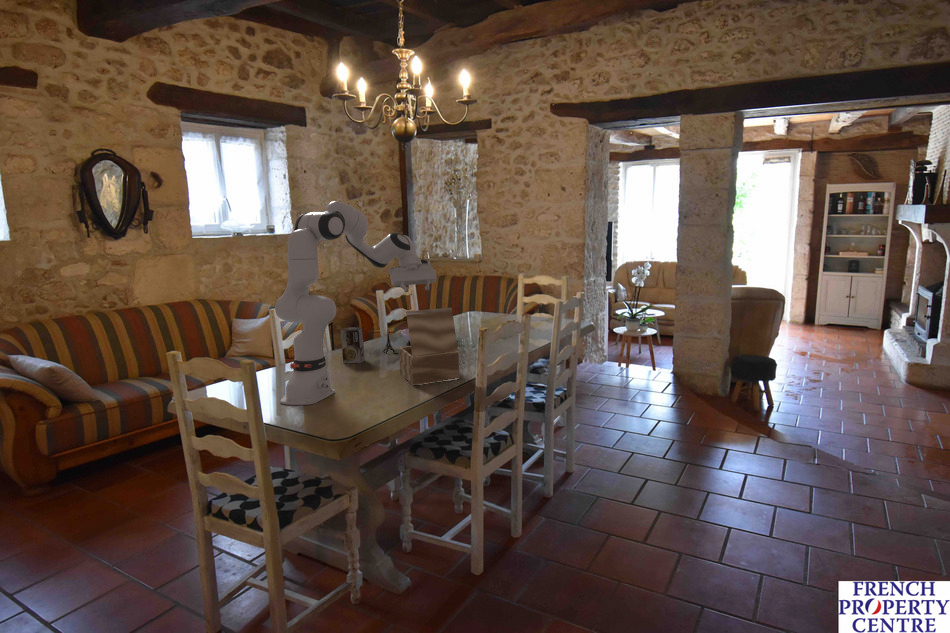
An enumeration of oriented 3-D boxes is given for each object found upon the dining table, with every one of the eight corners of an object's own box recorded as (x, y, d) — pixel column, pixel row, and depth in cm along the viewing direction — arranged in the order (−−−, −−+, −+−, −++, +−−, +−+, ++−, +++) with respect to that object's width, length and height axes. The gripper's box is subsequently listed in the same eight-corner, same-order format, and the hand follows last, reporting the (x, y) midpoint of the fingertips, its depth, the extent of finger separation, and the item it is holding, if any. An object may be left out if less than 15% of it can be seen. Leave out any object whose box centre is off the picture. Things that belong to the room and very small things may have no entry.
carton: (400, 374, 251) (398, 347, 248) (443, 368, 258) (442, 342, 256) (412, 386, 232) (411, 357, 230) (459, 379, 240) (458, 351, 237)
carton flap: (406, 311, 233) (406, 311, 232) (451, 307, 240) (451, 307, 239) (412, 356, 230) (412, 356, 230) (457, 350, 237) (458, 350, 237)
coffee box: (365, 359, 277) (363, 327, 274) (361, 363, 271) (359, 329, 268) (346, 359, 278) (344, 327, 275) (342, 363, 272) (340, 329, 269)
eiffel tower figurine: (370, 354, 290) (368, 328, 287) (379, 350, 299) (377, 324, 297) (397, 356, 285) (396, 329, 283) (405, 351, 295) (404, 325, 292)
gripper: (388, 263, 251) (394, 287, 243) (433, 260, 258) (440, 284, 251) (386, 272, 256) (392, 297, 248) (430, 269, 263) (437, 293, 256)
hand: (417, 290), depth 250 cm, fingers open, 8 cm apart
